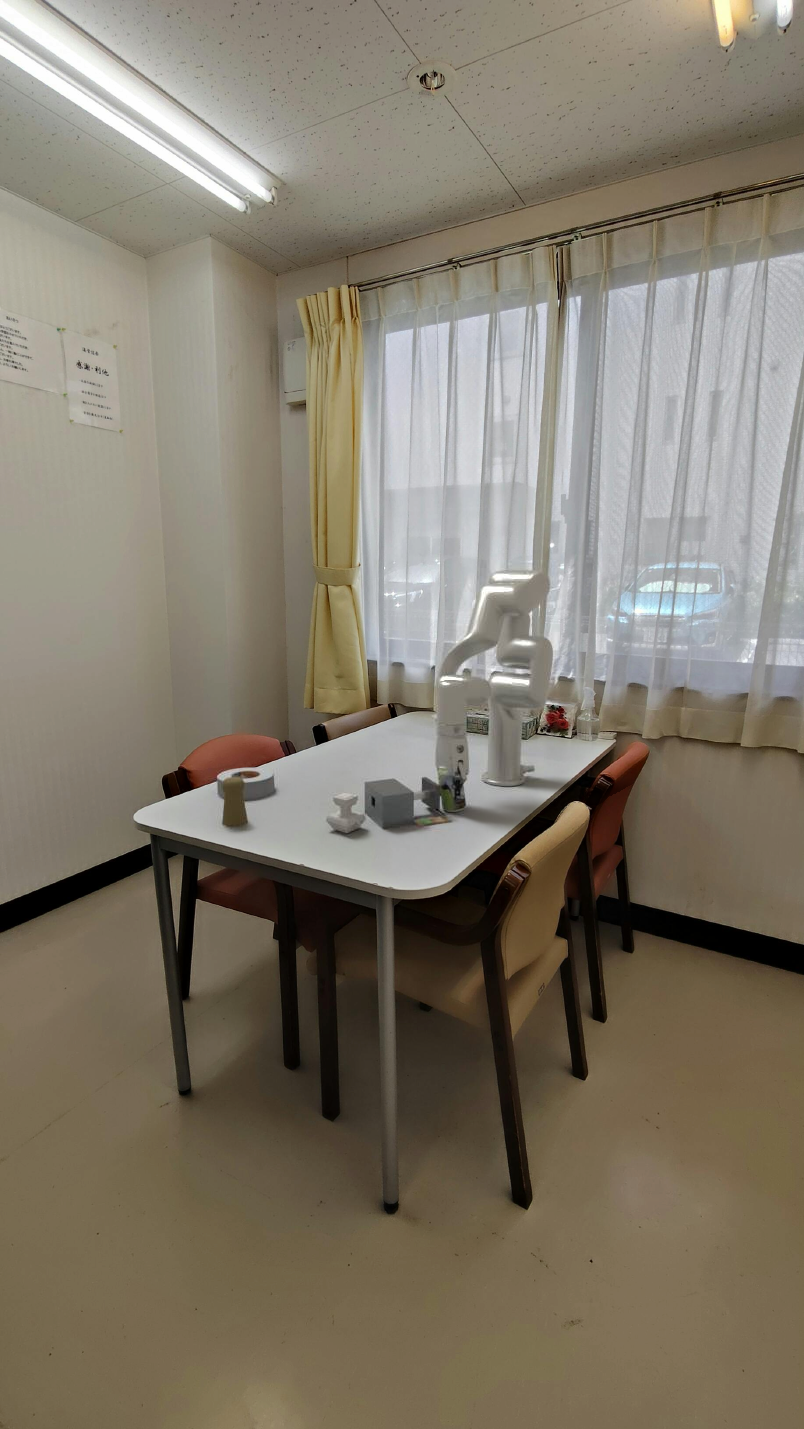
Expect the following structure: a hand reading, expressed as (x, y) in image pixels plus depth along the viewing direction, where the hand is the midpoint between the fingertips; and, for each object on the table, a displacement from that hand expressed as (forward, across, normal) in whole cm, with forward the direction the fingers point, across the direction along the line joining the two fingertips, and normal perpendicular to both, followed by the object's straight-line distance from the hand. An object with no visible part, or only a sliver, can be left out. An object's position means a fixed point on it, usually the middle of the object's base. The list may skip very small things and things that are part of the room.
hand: (450, 798), depth 167 cm
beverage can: (+3, -1, 0) cm, 3 cm away
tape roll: (+3, +35, +45) cm, 57 cm away
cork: (+3, +12, +52) cm, 53 cm away
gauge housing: (+3, 0, +17) cm, 17 cm away
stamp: (+3, -3, +29) cm, 29 cm away
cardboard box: (+3, -7, +8) cm, 11 cm away
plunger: (+1, -2, +9) cm, 10 cm away
